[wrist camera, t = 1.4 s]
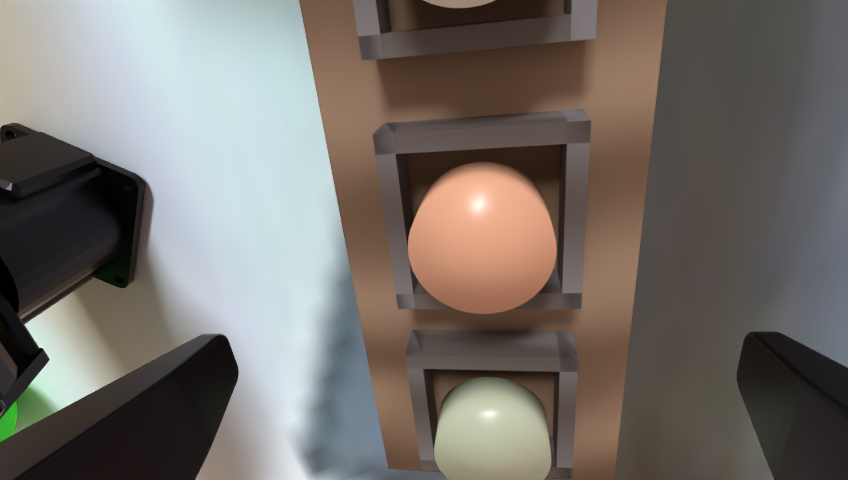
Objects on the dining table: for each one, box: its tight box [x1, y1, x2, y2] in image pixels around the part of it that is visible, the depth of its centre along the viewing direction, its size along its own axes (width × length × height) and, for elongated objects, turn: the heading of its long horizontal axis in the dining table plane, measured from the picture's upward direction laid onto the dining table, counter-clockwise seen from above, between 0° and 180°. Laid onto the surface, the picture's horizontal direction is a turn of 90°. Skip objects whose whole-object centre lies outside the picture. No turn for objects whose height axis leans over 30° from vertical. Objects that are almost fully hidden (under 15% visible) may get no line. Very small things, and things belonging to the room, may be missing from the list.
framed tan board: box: [299, 0, 667, 480], centre depth 17 cm, size 26×10×6 cm, turn 6°
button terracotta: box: [408, 162, 557, 314], centre depth 14 cm, size 4×4×2 cm
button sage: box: [434, 377, 551, 480], centre depth 17 cm, size 4×4×2 cm
